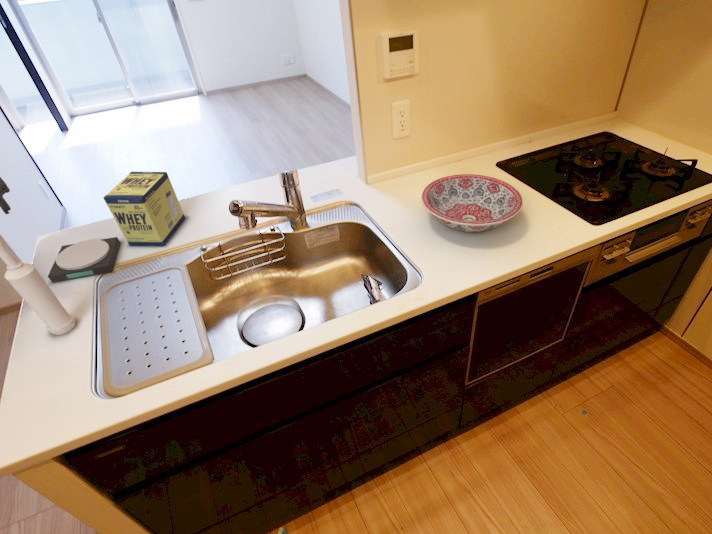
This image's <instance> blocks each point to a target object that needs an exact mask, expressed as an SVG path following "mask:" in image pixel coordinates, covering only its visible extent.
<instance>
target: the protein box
mask: <svg viewBox="0 0 712 534" xmlns="http://www.w3.org/2000/svg"><path fill="white" fill-rule="evenodd" d="M103 200H104V202H105V203H106V205H107V207H108V209H109V211H110V213H111V215H112V216H113V218H114V221H115V222H116V224H117V225H118V227H119V229H120V231H121V233H122V235H123V237H124V238H125V240H126V242H127V244H128V246H130V247H131V246H133V247H134V246H136V247H137V246H139V247H140V246H141V247H142V246H143V247H165V246H166V244H167V243H168V242H169V240H170V239H171V237H172V236H173V235H174V234H175V232H176V231H177V229H179V227H180V225H181V224H183V222H184V220H185V219H186V216H185V214H184V211H183V209H182V207H181V204H180V201H179V199H178V197H177V194H176V192H175V190H174V187H173V185H172V182H171V180H170V177H169V174H168V173H167V171H131V172H129V173H128V175H126V176H125V177H124V178H123V179H122V180H121V181H120V182H119V183H118V184H117V185H115V187H113V188H112V189H111V190H110V191H109V192H108V193H107V194H106V195H104V196H103Z"/></svg>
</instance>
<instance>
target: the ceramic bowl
mask: <svg viewBox="0 0 712 534" xmlns="http://www.w3.org/2000/svg"><path fill="white" fill-rule="evenodd" d="M421 203H422V205H423V207H424V208H425V209H426V211H428V212H429V213H430V214H431V215H433V216H434V217H435V218H436V219H437V220H438V221H439V222H440V223H442V224H443V225H445V226H446V227H448V228H450V229H453V230H456V231H459V232H466V233H477V232H478V233H481V232H486V231H490V230H493V229H494V228H497V227H500V226H501V225H503V224H504V223H505V222H507V221H509V220H511V219H513V218H514V217H516V216H517V215H518V214H519V213H520V212H521V210H522V208H523V203H524V202H523V197H522V195H521V193H520V192H519V190H517V188H515V186H513V185H511V184H510V183H508V182H506V181H504V180H501V179H498V178H495V177H492V176H488V175H482V174H471V173H468V174H467V173H462V174H461V173H460V174H452V175H448V176H443V177H440V178H438V179H435V180H433V181H432V182H430V183H429V184H428V185H426V186H425V188H424V189H423V191H422V192H421ZM466 219H473V220H466Z"/></svg>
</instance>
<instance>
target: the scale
mask: <svg viewBox="0 0 712 534" xmlns="http://www.w3.org/2000/svg"><path fill="white" fill-rule="evenodd" d="M120 246H121V242H120V239H119V238H118V236H115V237H108V238H103V239H88V240H82V241H79V242H77V243H76V242H75V243H72V244H65V245H61V247H60V250H59V251H58V254H57V256H56V258H55V260H54V262H53V264H52V266H51V268H50V270H49V273H48V275H47V277H48V279H49V281H50V282H51V283H52V284H53V283H59V282H66V281H69V280H75V279H76V280H77V279H80V278H87V277H93V276H97V275H103V274H109V273H112V272H113V269H114V267H115V263H116V259H117V256H118V253H119V249H120Z"/></svg>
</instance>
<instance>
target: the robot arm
mask: <svg viewBox="0 0 712 534" xmlns="http://www.w3.org/2000/svg"><path fill="white" fill-rule="evenodd" d="M10 192H11V189H10V187H8V185H7V183H6V182H5V181H4V180H3V178H2V177H1V176H0V209H1V210H2V212H3V213H4V214H5V215H8V214H9V215H10V212H9V211H11V210H12V209H11V206H10V205H9V203H8V202H7V201H6V200H5V198H4V195H5V194H7V193H10Z"/></svg>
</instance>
